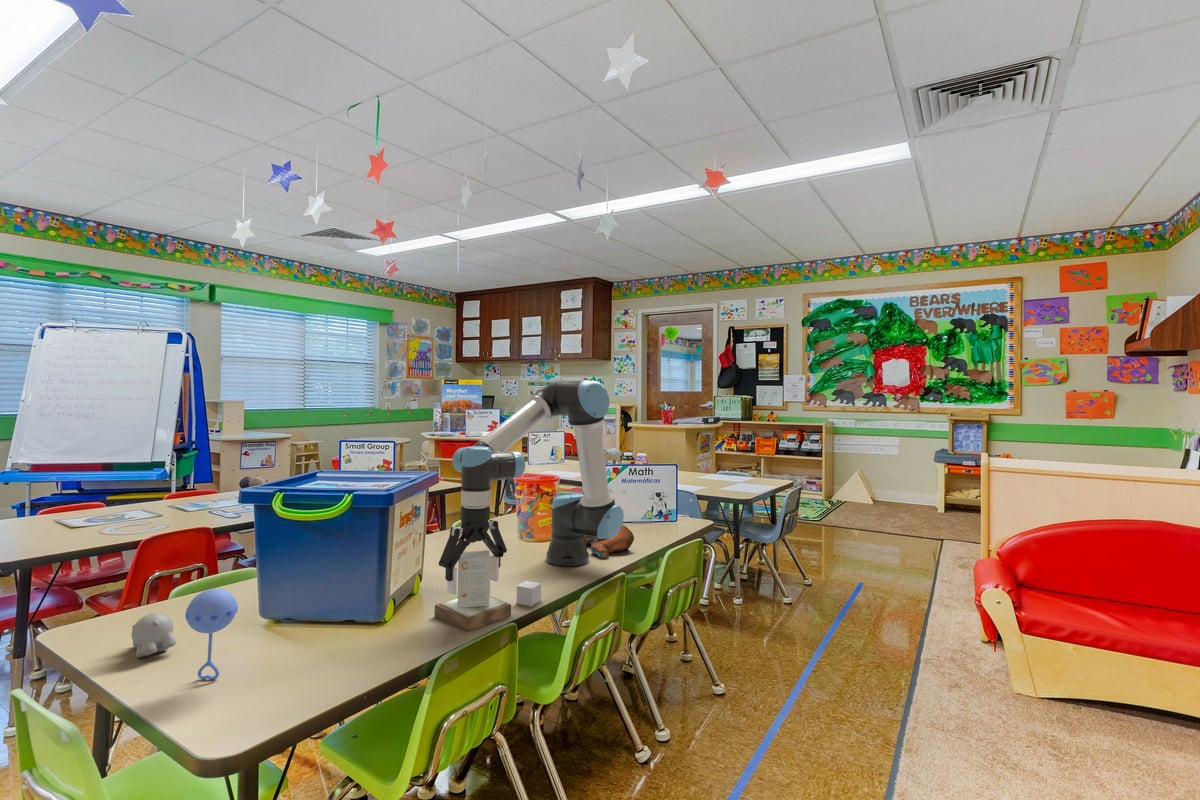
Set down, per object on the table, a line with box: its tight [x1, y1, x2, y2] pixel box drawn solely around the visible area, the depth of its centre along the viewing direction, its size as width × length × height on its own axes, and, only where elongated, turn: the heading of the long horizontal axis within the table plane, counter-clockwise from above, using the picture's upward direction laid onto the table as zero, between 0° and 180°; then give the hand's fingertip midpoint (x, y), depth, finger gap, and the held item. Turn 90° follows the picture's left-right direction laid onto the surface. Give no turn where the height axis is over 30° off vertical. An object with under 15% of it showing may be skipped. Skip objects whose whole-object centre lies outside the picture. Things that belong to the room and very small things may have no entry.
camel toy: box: [584, 524, 635, 559], centre depth 219 cm, size 25×13×17 cm
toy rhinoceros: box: [131, 612, 177, 658], centre depth 126 cm, size 7×12×8 cm, turn 56°
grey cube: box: [515, 580, 542, 607], centre depth 161 cm, size 5×5×5 cm
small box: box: [457, 549, 491, 608], centre depth 150 cm, size 8×6×13 cm
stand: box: [434, 595, 512, 632], centre depth 150 cm, size 14×14×3 cm
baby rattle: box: [184, 588, 239, 681], centre depth 114 cm, size 9×9×18 cm
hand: (473, 586), depth 150 cm, fingers open, 13 cm apart
